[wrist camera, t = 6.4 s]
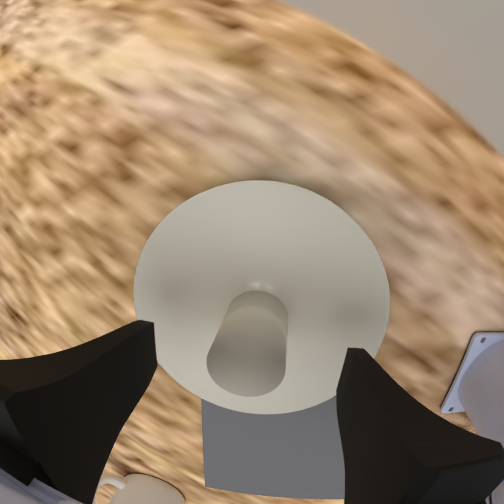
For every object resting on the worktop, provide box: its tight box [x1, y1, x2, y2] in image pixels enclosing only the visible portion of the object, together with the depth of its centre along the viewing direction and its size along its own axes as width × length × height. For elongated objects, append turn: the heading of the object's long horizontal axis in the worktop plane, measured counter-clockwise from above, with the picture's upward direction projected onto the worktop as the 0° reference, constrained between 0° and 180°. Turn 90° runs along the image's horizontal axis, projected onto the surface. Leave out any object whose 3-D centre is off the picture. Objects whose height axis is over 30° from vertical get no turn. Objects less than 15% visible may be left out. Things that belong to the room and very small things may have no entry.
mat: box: [201, 396, 345, 499], centre depth 24 cm, size 16×16×1 cm
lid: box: [134, 180, 390, 414], centre depth 14 cm, size 13×13×5 cm
